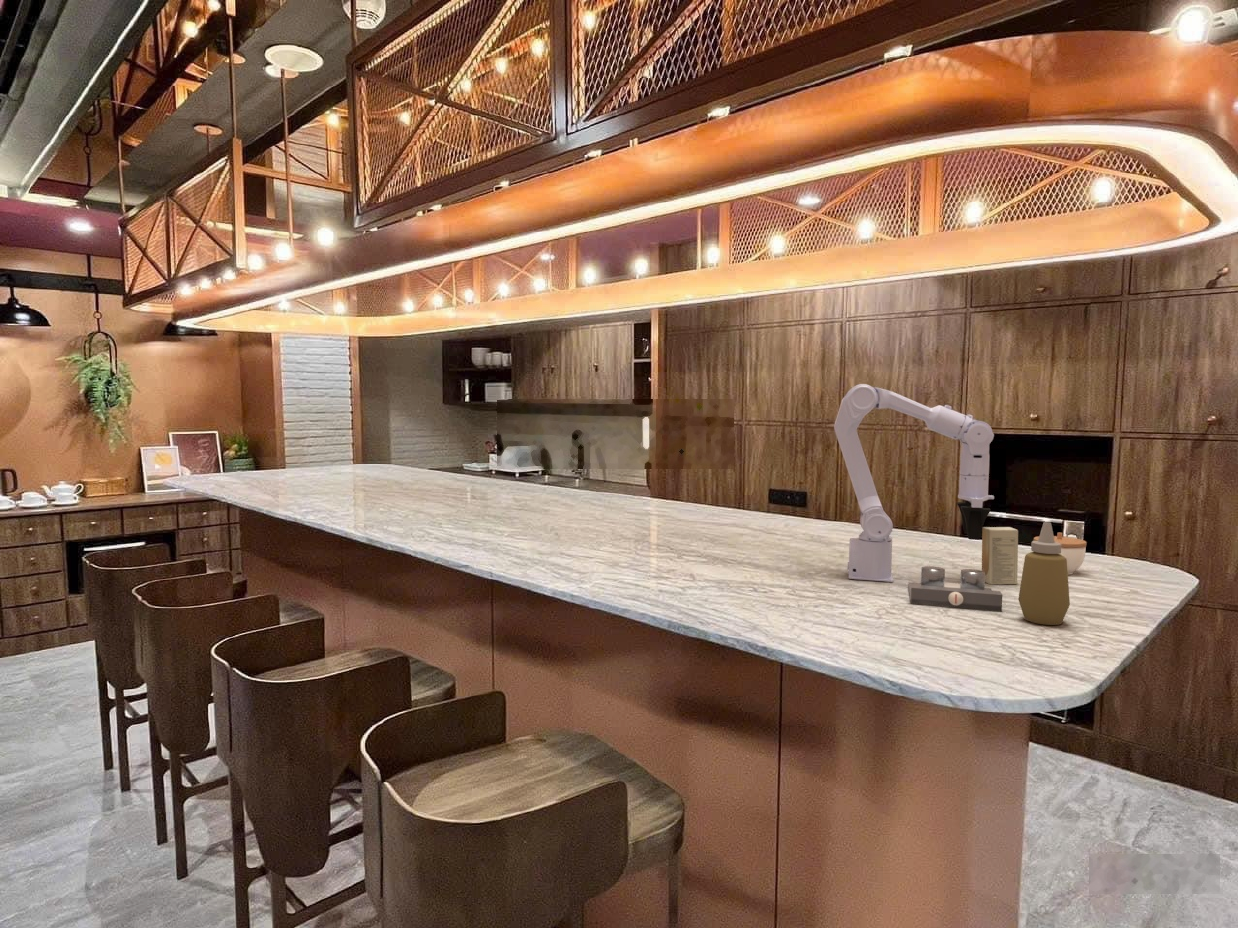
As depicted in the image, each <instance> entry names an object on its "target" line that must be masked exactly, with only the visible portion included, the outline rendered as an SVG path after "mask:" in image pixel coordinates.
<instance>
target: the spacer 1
mask: <svg viewBox="0 0 1238 928" xmlns="http://www.w3.org/2000/svg"><path fill="white" fill-rule="evenodd" d="M920 573H921V575H920V576H921V577H920V583H921V585H925V586H938V587H944V582H945V579H946V577H945V576H946V575H945V573H946V570H945V568H943V567H939V566H932V565H931V566H930V565H929V566H928V565H927V566H922V567H921V572H920Z"/></svg>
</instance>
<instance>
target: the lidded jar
mask: <svg viewBox="0 0 1238 928" xmlns="http://www.w3.org/2000/svg"><path fill="white" fill-rule="evenodd" d="M1063 534H1064V533H1063V532H1057V535H1054V540H1055V542H1057V543H1060V544H1061V553H1059V554H1060V555H1062V556H1064V557H1065V558H1066V559H1067V570H1068V576H1070V575H1074V573H1075V572H1077V570H1079V569H1080V568H1081V566H1082V565H1083V564H1084V561H1085V557H1086V552H1087V551H1086V547H1087V543H1088V542H1087V541H1086V540H1083V539H1080V538H1076V537H1069V536H1063ZM1039 536H1040V535H1039ZM1039 536H1035V537H1033V541H1038V539H1039Z"/></svg>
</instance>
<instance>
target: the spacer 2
mask: <svg viewBox="0 0 1238 928" xmlns="http://www.w3.org/2000/svg"><path fill="white" fill-rule="evenodd" d="M959 584H960V588H963V589H976V590H984V588H986V586H985V585H986V582H985V572H984V571H982V569H981V570H980V569H974V568H973V569H972V568H963V569H960V583H959Z"/></svg>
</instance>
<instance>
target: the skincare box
mask: <svg viewBox="0 0 1238 928" xmlns="http://www.w3.org/2000/svg"><path fill="white" fill-rule="evenodd" d="M981 538H982V539H981V540H982V541H981V571H984V572H985V584H986V583H987V584H988V585H1017V584H1018V567H1019V566H1018V565H1019V564H1018V562H1019V561H1018V560H1019V559H1018V557H1019V553H1018V552H1019V530H1018V529H1016V528H1013V527H1011V526H996V527H995V526H994V527H993V526H991V527H990V526H983V529H982V533H981Z"/></svg>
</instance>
